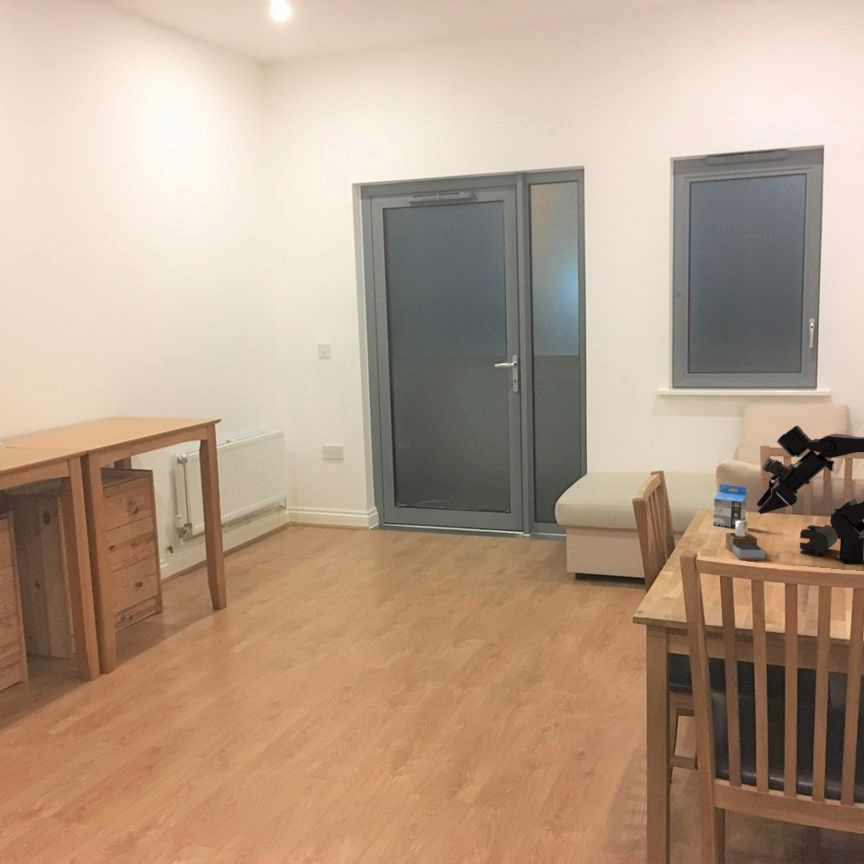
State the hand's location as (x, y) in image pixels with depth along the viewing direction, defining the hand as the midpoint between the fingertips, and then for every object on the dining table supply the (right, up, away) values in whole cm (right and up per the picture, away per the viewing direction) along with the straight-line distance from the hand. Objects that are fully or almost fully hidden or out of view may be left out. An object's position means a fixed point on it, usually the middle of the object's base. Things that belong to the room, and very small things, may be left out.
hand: (758, 509), depth 247 cm
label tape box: (+2, -8, +30) cm, 31 cm away
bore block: (-4, -11, +3) cm, 12 cm away
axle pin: (-4, -11, +3) cm, 12 cm away
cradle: (-4, -12, -4) cm, 13 cm away
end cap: (+16, -12, 0) cm, 20 cm away
